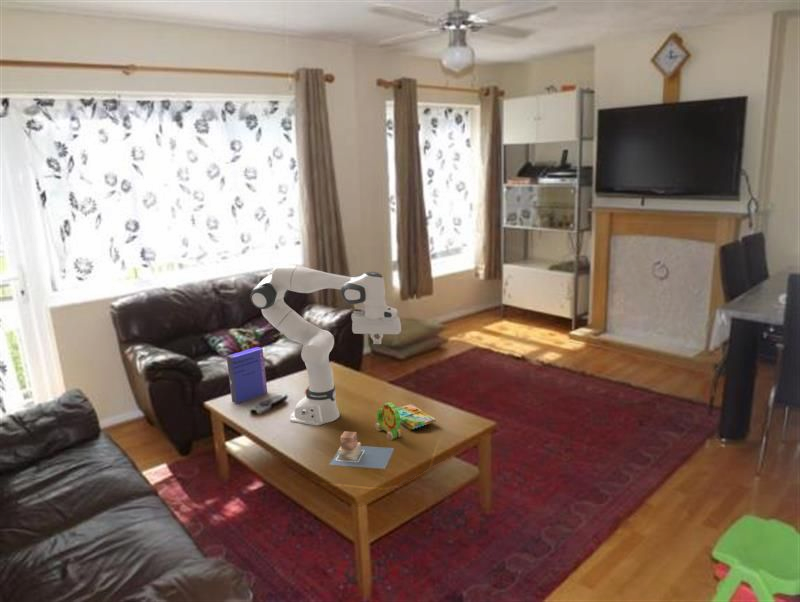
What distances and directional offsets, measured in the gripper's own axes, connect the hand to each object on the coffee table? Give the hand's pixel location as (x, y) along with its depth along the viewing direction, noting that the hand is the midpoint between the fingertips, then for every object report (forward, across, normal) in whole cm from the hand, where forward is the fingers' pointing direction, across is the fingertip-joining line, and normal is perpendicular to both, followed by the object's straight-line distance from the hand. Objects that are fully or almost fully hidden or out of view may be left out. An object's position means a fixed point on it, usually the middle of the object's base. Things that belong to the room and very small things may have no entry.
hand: (377, 343), depth 236 cm
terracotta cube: (+34, -7, -24) cm, 43 cm away
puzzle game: (+40, +11, +10) cm, 42 cm away
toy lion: (+39, +4, -4) cm, 40 cm away
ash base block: (+38, -7, -24) cm, 46 cm away
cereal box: (+39, -76, +28) cm, 90 cm away
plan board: (+39, -2, -24) cm, 46 cm away
